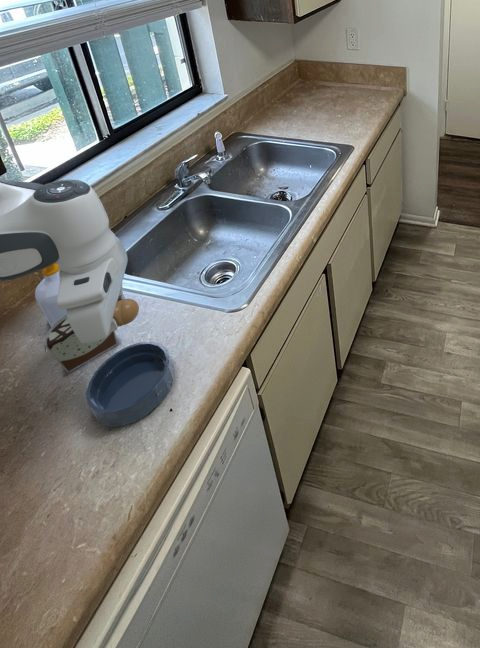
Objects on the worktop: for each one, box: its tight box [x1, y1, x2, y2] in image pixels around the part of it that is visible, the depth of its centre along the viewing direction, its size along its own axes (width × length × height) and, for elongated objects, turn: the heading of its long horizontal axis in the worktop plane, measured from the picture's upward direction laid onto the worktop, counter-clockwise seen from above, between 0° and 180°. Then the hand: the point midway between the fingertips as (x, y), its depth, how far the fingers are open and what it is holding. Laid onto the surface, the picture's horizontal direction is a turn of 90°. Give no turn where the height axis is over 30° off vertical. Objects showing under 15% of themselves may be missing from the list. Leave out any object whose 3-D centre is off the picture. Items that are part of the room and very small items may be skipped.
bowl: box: [85, 341, 175, 428], centre depth 87 cm, size 14×14×5 cm
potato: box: [113, 298, 140, 328], centre depth 83 cm, size 8×5×5 cm, turn 111°
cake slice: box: [43, 314, 119, 374], centre depth 95 cm, size 12×6×10 cm, turn 134°
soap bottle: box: [34, 262, 67, 328], centre depth 100 cm, size 9×9×25 cm
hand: (116, 315), depth 83 cm, fingers closed on potato, 4 cm apart
